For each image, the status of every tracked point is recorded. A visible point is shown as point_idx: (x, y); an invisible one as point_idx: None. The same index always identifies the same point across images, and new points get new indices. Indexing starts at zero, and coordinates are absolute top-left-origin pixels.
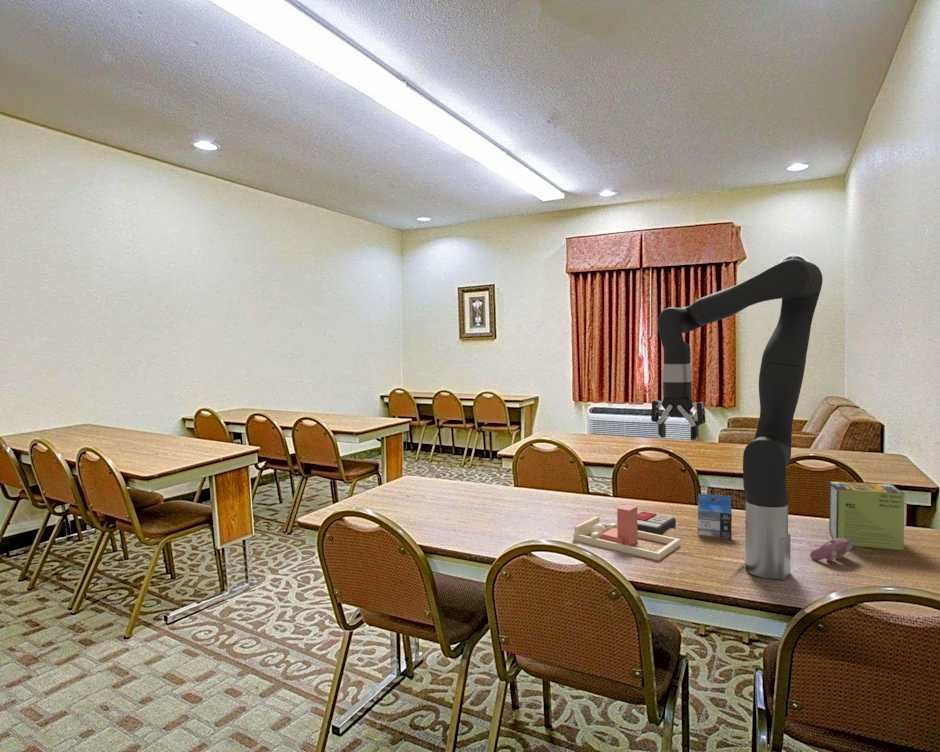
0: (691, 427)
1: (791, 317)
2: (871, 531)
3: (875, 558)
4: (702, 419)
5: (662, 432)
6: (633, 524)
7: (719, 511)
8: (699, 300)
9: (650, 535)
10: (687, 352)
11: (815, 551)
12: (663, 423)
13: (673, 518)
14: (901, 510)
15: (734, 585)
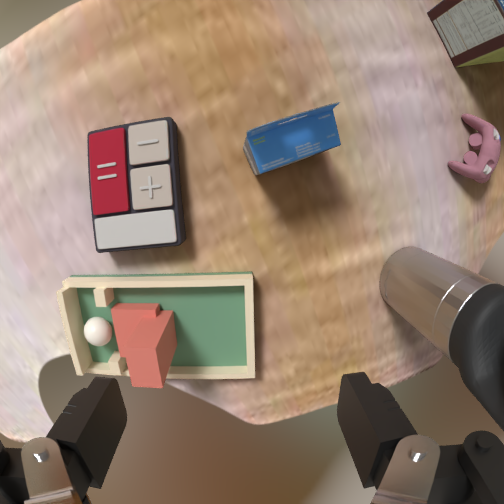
0: (369, 482)
1: None
2: (498, 58)
3: (496, 113)
4: (478, 501)
5: (117, 444)
6: (167, 348)
7: (312, 150)
8: None
9: (185, 286)
10: None
11: (462, 171)
12: (78, 470)
13: (167, 123)
14: None
15: (375, 358)
